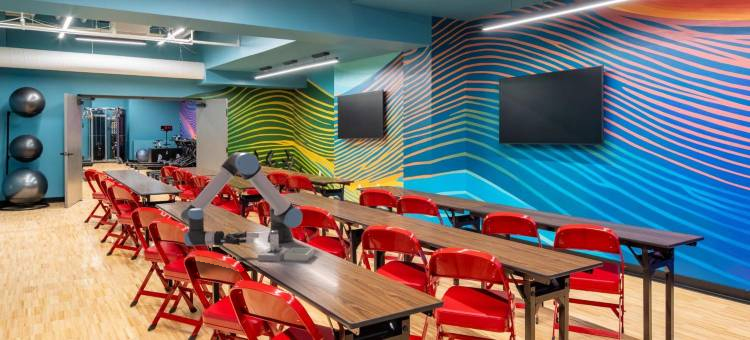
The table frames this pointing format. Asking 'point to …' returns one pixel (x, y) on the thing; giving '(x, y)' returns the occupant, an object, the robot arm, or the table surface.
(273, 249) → the shiny metal cylinder
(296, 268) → the table surface
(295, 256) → the parts tray
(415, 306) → the table surface
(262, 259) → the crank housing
